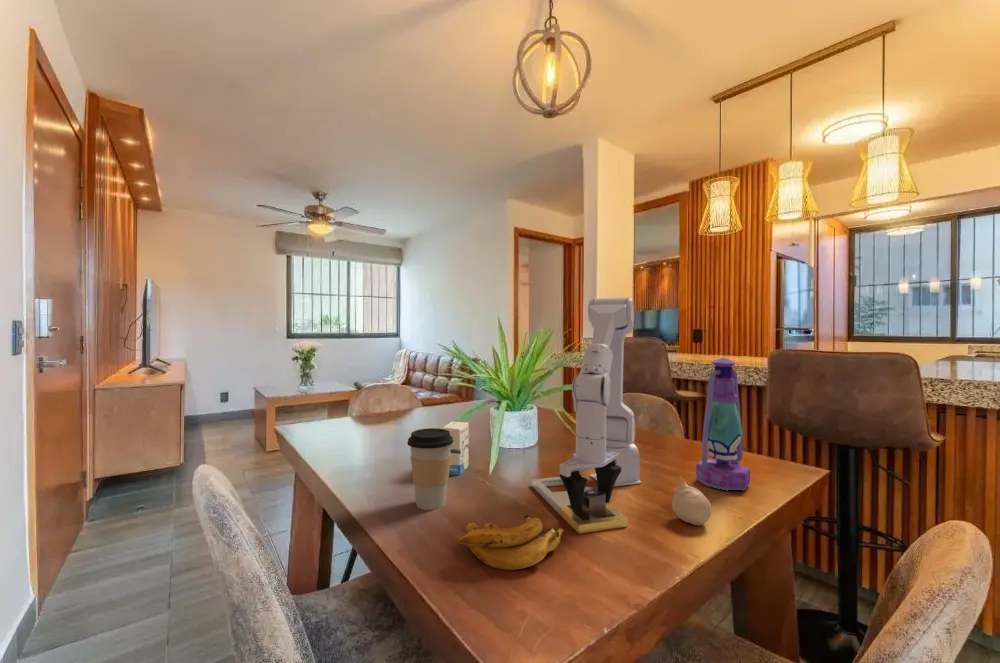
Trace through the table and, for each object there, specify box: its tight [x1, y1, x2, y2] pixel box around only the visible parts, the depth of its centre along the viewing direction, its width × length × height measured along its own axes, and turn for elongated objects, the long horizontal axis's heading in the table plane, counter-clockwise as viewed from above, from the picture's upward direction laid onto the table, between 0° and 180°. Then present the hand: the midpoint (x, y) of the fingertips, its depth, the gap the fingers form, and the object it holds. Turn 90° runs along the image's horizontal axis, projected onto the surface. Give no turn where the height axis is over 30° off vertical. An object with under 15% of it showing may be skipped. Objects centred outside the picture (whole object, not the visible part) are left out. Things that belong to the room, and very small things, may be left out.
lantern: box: [695, 357, 751, 492], centre depth 102 cm, size 13×12×30 cm
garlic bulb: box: [671, 475, 713, 526], centre depth 82 cm, size 7×6×8 cm
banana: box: [458, 514, 566, 571], centre depth 72 cm, size 15×19×6 cm
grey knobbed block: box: [572, 486, 607, 521], centre depth 84 cm, size 4×4×6 cm
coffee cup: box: [407, 427, 453, 511], centre depth 89 cm, size 9×9×15 cm
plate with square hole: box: [531, 476, 629, 535], centre depth 90 cm, size 10×24×2 cm, turn 16°
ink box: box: [442, 421, 470, 476], centre depth 111 cm, size 9×5×12 cm, turn 168°
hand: (590, 505), depth 83 cm, fingers open, 7 cm apart
